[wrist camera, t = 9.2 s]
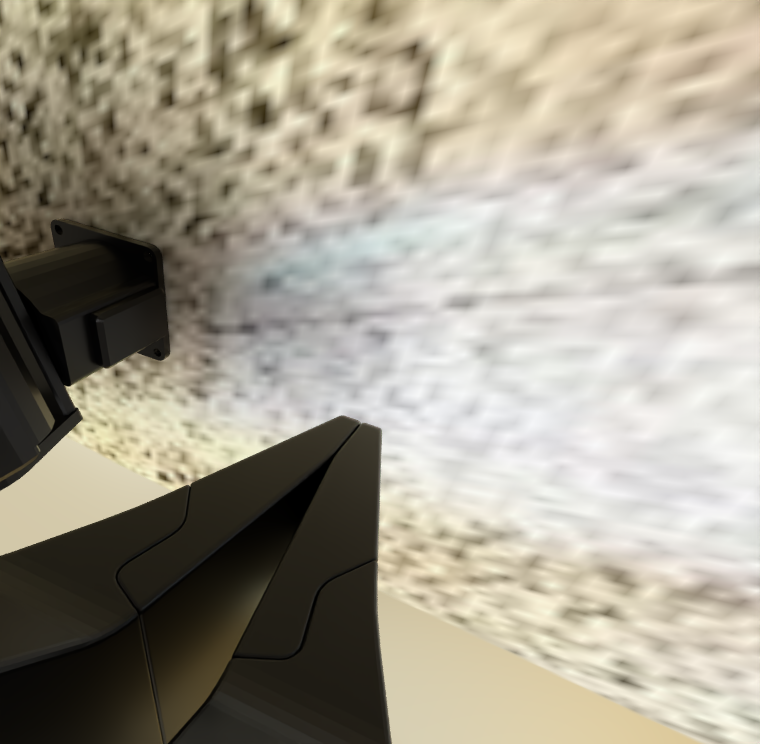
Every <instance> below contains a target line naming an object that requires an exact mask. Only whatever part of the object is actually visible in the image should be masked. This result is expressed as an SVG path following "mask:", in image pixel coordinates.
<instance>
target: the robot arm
mask: <svg viewBox="0 0 760 744" xmlns="http://www.w3.org/2000/svg"><path fill="white" fill-rule="evenodd" d="M51 230H52V235H53V240H54V245H55V248H54V249H51V250H47V251H43V252H40V253H36V254H32V255H29V256H25V257H21V258H18V259H14V260H10V261H7V262H3V260H2V258H1V256H0V490H2V489H4V488H6V487H8V486H9V485H11V484H12V483H14V482H15V481H16V480H18V479H20V478H21V477H22V476H23V475H25V474H26V473H27V472H28V471H29V470H30V469H31V468H32V467H33V466H34V465H35V464H36V463H38V462H39V460H41V459H42V458H43V456H45V455H46V454H47V453H48V452H49V451H50V450H51V449H52V448H53V447H54V446H55V445H56V444H57V443H58V442H59V441H60V440H61V439H62V438H63V437H64V436H65V435H66V434H68V433H69V432H70V431H71V430H72V429H73V428H74V427H75V426H76V425H77V424H78V423H79V422H80V421H81V420H82V419H83V417H82V415H81V413H80V411H79V409H78V408H75V406H74V404H73V402H72V400H71V398H70V396H69V394H68V392H67V390H66V388H65V386H71V385H73V384H75V383H77V382H78V381H80V380H82V379H84V378H86V377H87V376H89V375H91V374H93V373H94V372H96V371H98V370H100V369H102V368H103V367H104V368H110V367H112V366H114V365H115V364H117V363H119V362H121V361H123V360H124V359H126V358H128V357H130V356H131V355H133V354H135V353H139V354H142V355H145V356H148V357H151V358H153V359H156V360H160V361H161V360H164V359H165V358H167V357H168V356H169V355H170V346H169V334H168V322H167V310H166V298H165V286H164V274H163V262H162V255H161V252H160V250H159V249H158V248H157V247H156V246H154V245H151V244H148V243H144V242H141V241H138V240H134V239H131V238H127V237H124V236H121V235H117V234H114V233H111V232H107V231H104V230H100V229H97V228H94V227H90V226H87V225H83V224H80V223H77V222H73V221H70V220H67V219H56V220H53V221H52V222H51ZM149 253H150V254H151V255H152V258H151V257H150V254H149ZM159 350H160V351H159ZM64 385H65V386H64ZM381 446H382V430H381V429H380V428H378V427H376V426H373V425H370V424H367V423H362V424H361V423H360V421H358V420H355V419H352V418H350V417H347V416H338V417H336V418H334V419H332V420H330V421H327V422H325V423H323V424H321V425H319V426H316V427H314V428H312V429H310V430H308V431H305V432H303V433H301V434H299V435H297V436H294V437H292V438H290V439H288V440H286V441H283V442H281V443H279V444H277V445H274V446H272V447H270V448H268V449H266V450H263V451H261V452H259V453H257V454H255V455H252V456H250V457H248V458H246V459H244V460H241V461H239V462H237V463H235V464H233V465H230V466H228V467H226V468H224V469H222V470H219V471H217V472H215V473H213V474H210V475H208V476H206V477H204V478H202V479H199V480H197V481H195V482H193V483H192V484H191V487H190V486H189V485H186V486H184V487H181V488H179V489H177V490H175V491H173V492H170V493H168V494H166V495H164V496H161V497H159V498H156V499H155V500H152V501H149V502H147V503H145V504H142V505H140V506H138V507H135V508H133V509H130V510H127V511H125V512H122V513H119V514H117V515H114V516H111V517H109V518H106V519H104V520H101V521H98V522H95V523H92V524H90V525H87V526H84V527H81V528H78V529H76V530H73V531H70V532H67V533H64V534H62V535H59V536H56V537H53V538H50V539H48V540H45V541H42V542H39V543H36V544H33V545H31V546H28V547H25V548H22V549H19V550H17V551H14V552H11V553H8V554H5V555H2V556H0V744H392V742H391V735H390V726H389V717H388V708H387V700H386V691H385V683H384V674H383V666H382V658H381V649H380V637H379V625H378V611H377V610H378V607H377V578H378V563H377V561H378V540H379V509H380V477H381Z"/></svg>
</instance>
